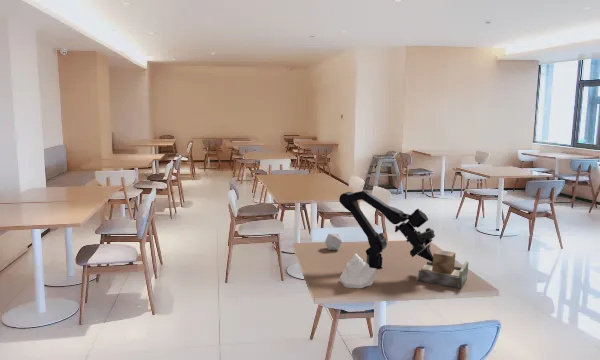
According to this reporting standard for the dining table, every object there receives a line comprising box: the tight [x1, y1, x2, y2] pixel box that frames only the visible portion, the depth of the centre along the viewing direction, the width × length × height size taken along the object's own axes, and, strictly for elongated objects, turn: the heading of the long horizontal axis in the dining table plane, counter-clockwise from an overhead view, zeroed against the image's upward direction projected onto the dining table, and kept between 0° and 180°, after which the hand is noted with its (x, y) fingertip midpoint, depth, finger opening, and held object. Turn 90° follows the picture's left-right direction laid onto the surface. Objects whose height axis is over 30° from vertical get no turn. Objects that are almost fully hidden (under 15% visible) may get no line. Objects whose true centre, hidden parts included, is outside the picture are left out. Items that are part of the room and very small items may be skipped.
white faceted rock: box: [339, 253, 378, 289], centre depth 203 cm, size 12×15×14 cm
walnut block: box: [432, 249, 456, 274], centre depth 213 cm, size 8×7×8 cm
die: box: [324, 233, 343, 251], centre depth 255 cm, size 8×9×10 cm
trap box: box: [417, 261, 469, 290], centre depth 214 cm, size 18×16×8 cm
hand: (433, 261), depth 215 cm, fingers closed, pressing on walnut block
